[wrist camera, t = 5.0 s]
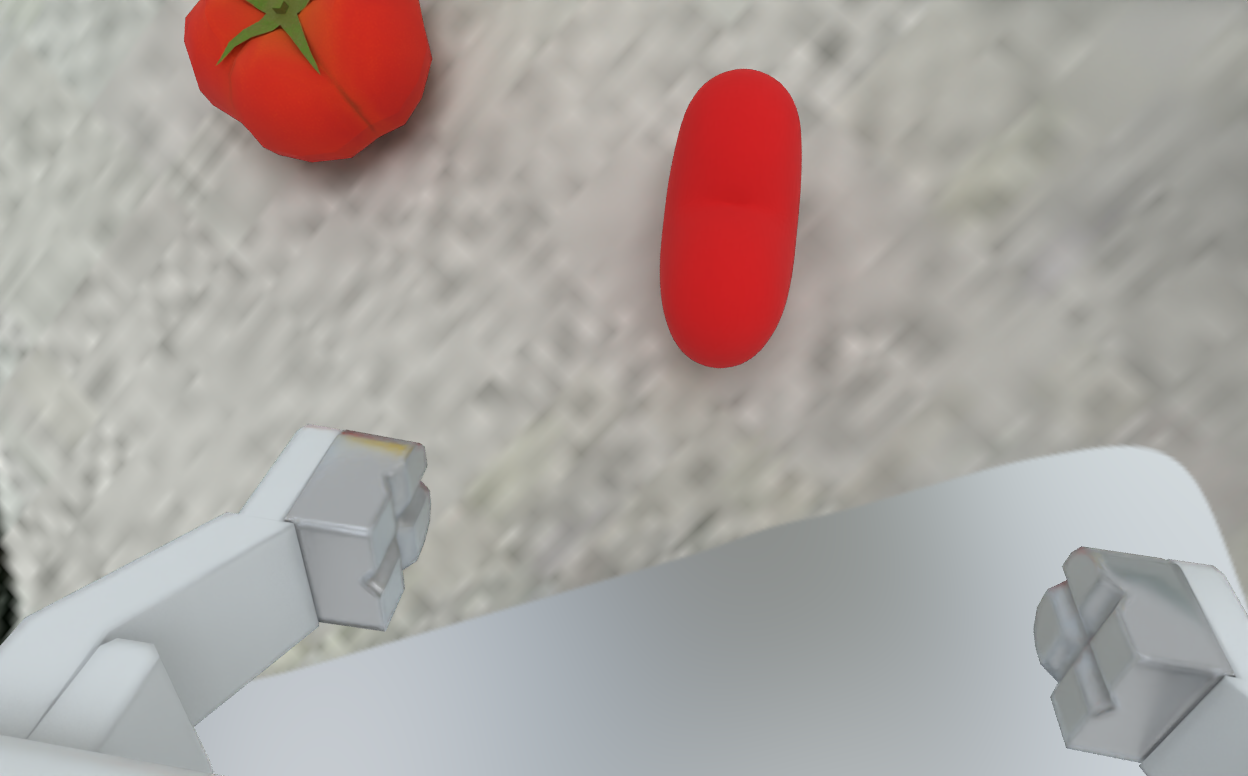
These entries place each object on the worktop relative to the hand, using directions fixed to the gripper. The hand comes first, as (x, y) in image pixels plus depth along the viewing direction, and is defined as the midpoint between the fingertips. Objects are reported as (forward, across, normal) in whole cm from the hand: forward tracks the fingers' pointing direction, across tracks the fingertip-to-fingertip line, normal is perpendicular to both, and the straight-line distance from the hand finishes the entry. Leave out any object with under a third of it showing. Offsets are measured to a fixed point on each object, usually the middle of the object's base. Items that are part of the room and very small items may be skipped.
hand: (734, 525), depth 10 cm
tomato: (+33, +20, +7) cm, 39 cm away
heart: (+28, 0, +12) cm, 30 cm away
